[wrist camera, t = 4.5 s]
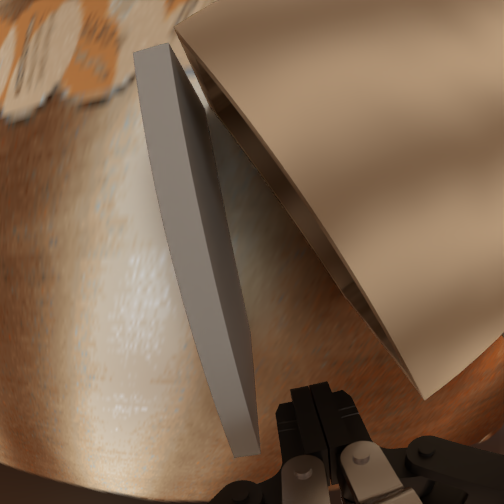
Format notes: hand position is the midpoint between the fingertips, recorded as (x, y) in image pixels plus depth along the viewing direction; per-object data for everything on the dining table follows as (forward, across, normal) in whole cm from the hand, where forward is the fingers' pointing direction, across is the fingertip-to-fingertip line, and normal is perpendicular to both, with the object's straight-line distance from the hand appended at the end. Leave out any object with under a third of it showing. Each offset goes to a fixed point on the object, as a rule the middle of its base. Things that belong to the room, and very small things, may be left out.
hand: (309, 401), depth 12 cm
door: (+12, +4, -6) cm, 14 cm away
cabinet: (+12, -9, -10) cm, 18 cm away
